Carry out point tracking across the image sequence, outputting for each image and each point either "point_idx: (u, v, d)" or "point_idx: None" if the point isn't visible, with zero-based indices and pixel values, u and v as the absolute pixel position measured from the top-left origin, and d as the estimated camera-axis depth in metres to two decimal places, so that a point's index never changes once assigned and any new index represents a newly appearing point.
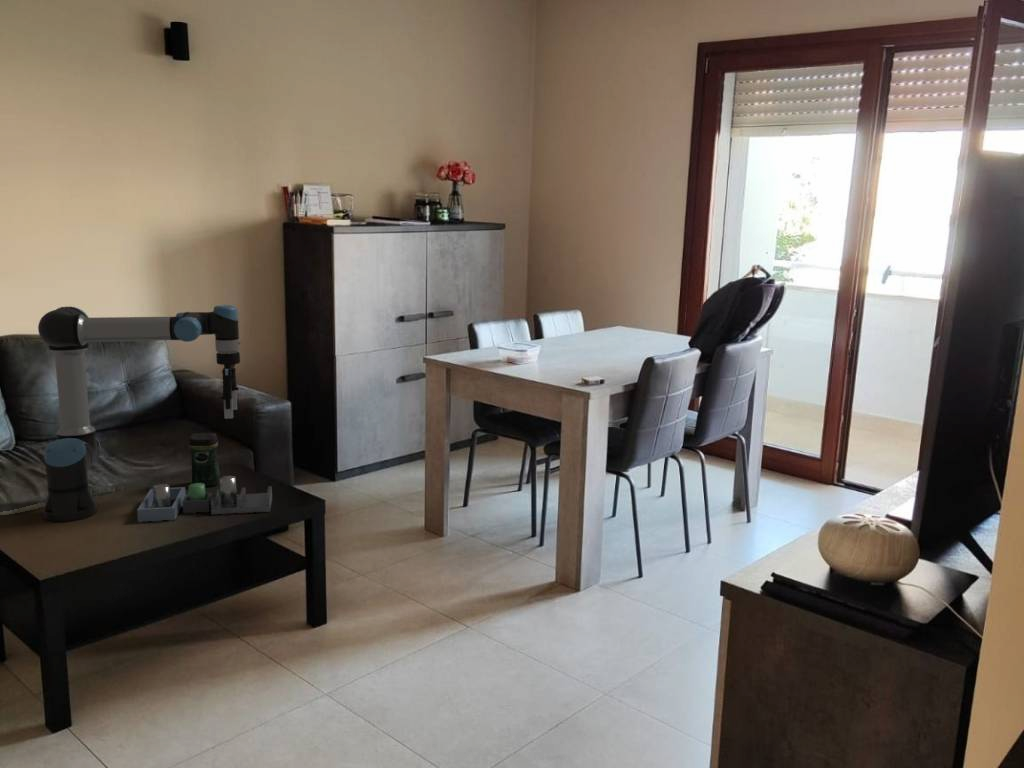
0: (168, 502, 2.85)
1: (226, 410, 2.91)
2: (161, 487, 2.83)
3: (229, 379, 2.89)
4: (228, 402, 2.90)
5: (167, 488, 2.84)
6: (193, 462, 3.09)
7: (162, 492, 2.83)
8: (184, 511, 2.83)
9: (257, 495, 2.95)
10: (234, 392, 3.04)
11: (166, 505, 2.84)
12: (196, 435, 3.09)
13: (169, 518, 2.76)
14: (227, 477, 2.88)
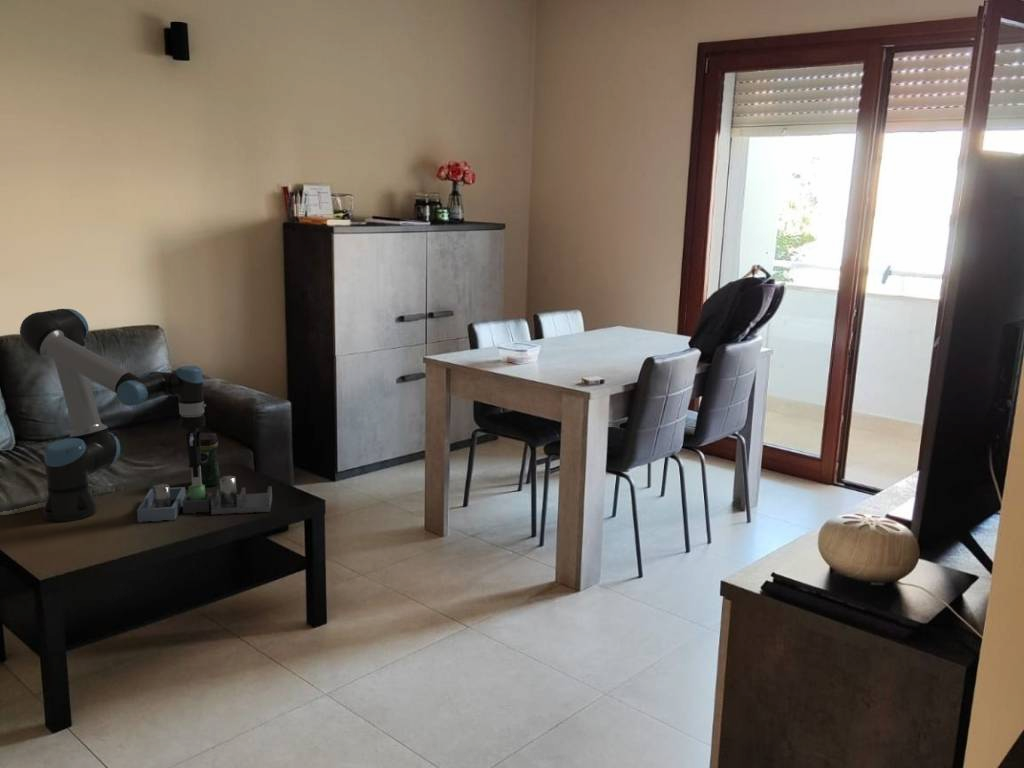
0: (168, 502, 2.85)
1: (194, 478, 2.85)
2: (161, 487, 2.83)
3: (194, 450, 2.79)
4: (196, 470, 2.83)
5: (167, 488, 2.84)
6: None
7: (162, 492, 2.83)
8: (184, 511, 2.83)
9: (257, 495, 2.95)
10: None
11: (166, 505, 2.84)
12: None
13: (169, 518, 2.76)
14: (227, 477, 2.88)
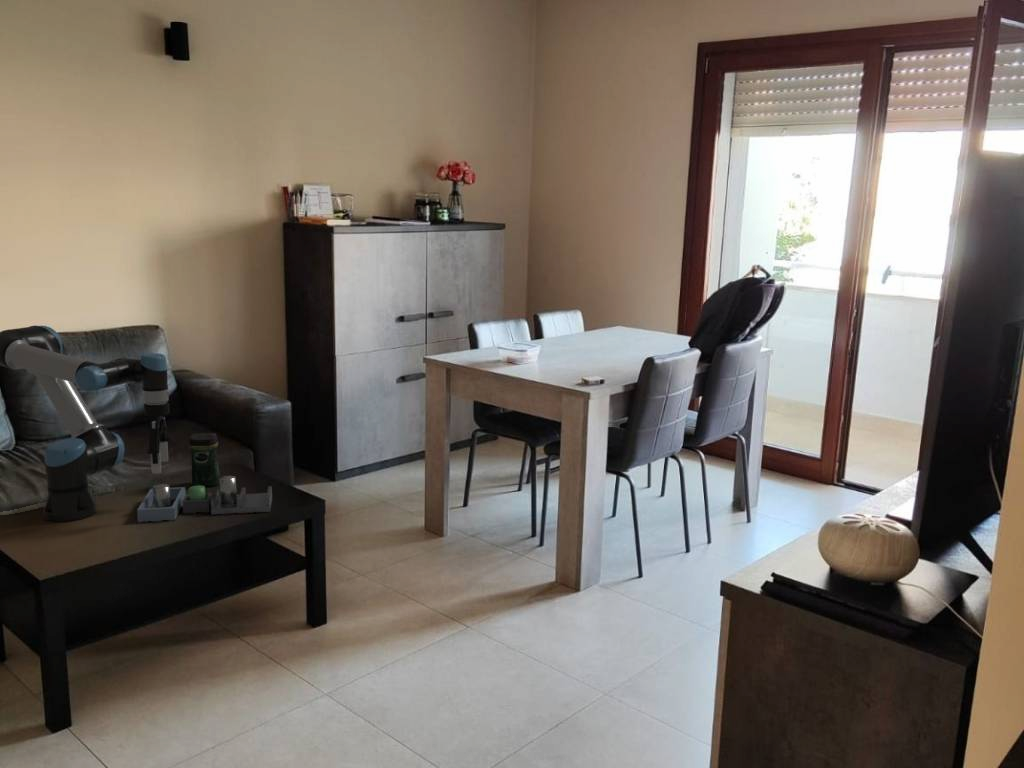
0: (168, 502, 2.85)
1: (153, 465, 2.76)
2: (161, 487, 2.83)
3: (156, 433, 2.74)
4: (155, 456, 2.75)
5: (167, 488, 2.84)
6: (193, 462, 3.09)
7: (162, 492, 2.83)
8: (184, 511, 2.83)
9: (257, 495, 2.95)
10: (165, 443, 2.89)
11: (166, 505, 2.84)
12: (196, 435, 3.09)
13: (169, 518, 2.76)
14: (227, 477, 2.88)
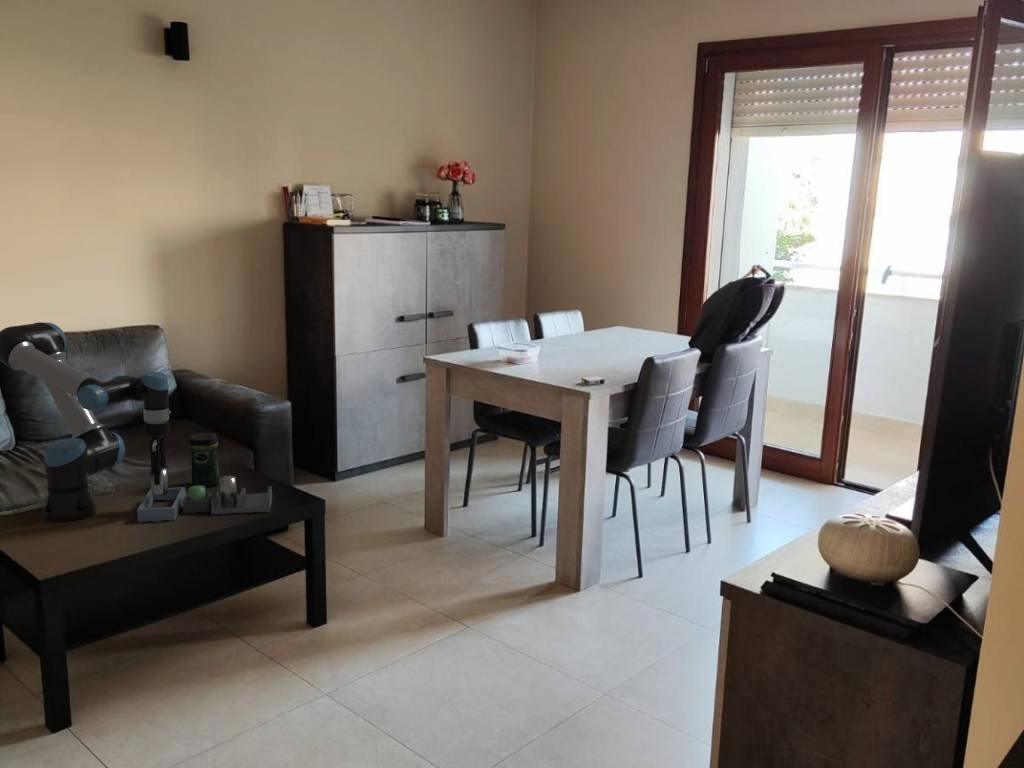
0: (165, 485, 2.84)
1: (155, 486, 2.81)
2: None
3: (157, 456, 2.77)
4: (157, 478, 2.80)
5: (165, 471, 2.83)
6: (193, 462, 3.09)
7: None
8: (184, 511, 2.83)
9: (257, 495, 2.95)
10: None
11: (163, 488, 2.83)
12: (196, 435, 3.09)
13: (169, 518, 2.76)
14: (227, 477, 2.88)
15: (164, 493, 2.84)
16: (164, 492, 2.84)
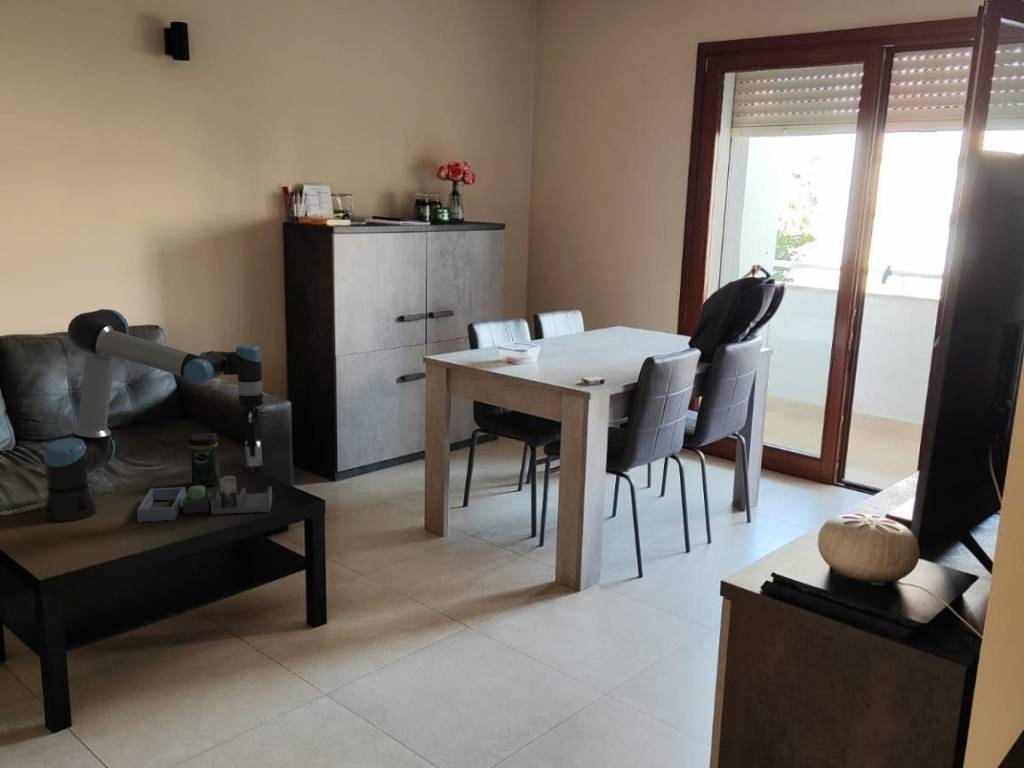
0: (260, 457, 2.87)
1: (250, 457, 2.85)
2: None
3: (252, 427, 2.80)
4: (253, 449, 2.83)
5: (259, 443, 2.86)
6: (193, 462, 3.09)
7: None
8: (184, 511, 2.83)
9: (257, 495, 2.95)
10: None
11: (258, 460, 2.86)
12: (196, 435, 3.09)
13: (169, 518, 2.76)
14: (227, 477, 2.88)
15: (259, 464, 2.87)
16: (259, 463, 2.87)
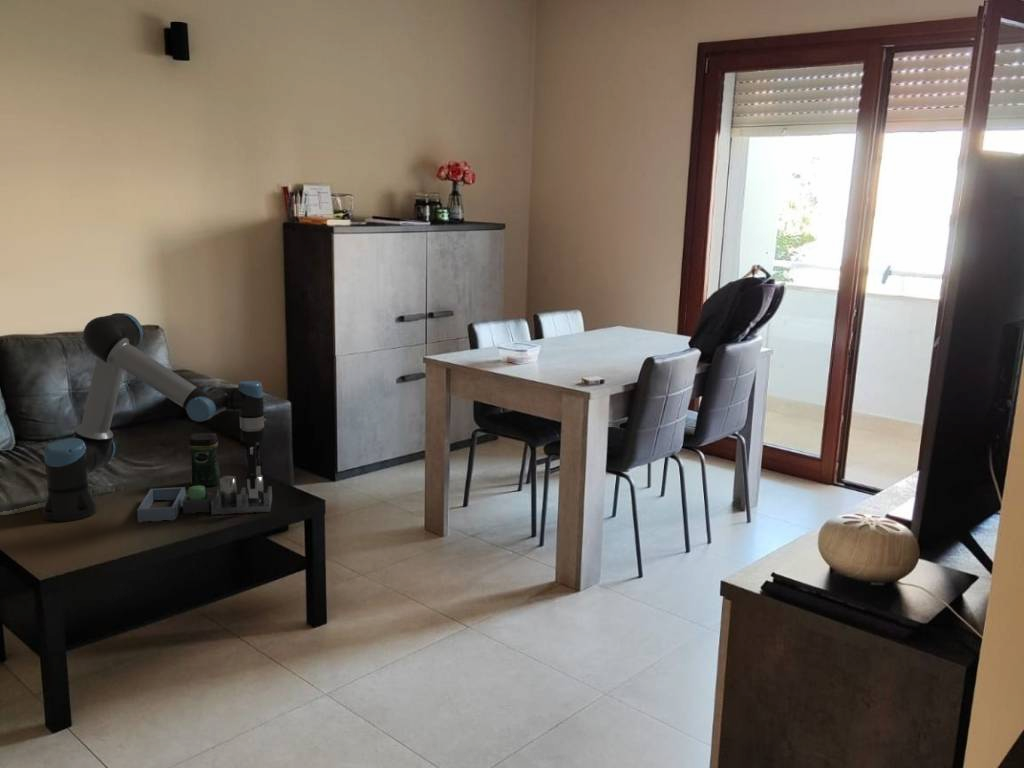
0: (261, 492, 2.89)
1: (251, 490, 2.83)
2: None
3: (254, 459, 2.81)
4: (253, 482, 2.81)
5: (261, 478, 2.88)
6: (193, 462, 3.09)
7: None
8: (184, 511, 2.83)
9: None
10: (258, 468, 2.95)
11: (260, 495, 2.89)
12: (196, 435, 3.09)
13: (169, 518, 2.76)
14: (227, 477, 2.88)
15: (260, 500, 2.89)
16: (260, 499, 2.89)
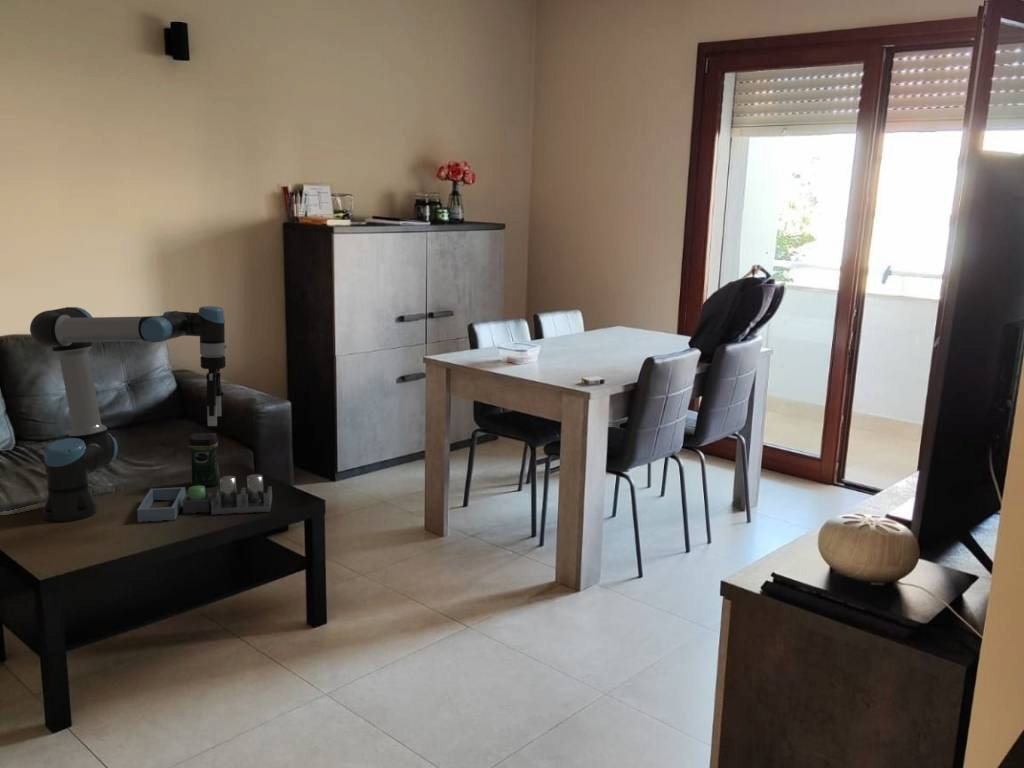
0: (261, 492, 2.89)
1: (209, 417, 2.76)
2: (255, 477, 2.88)
3: (213, 385, 2.74)
4: (212, 409, 2.75)
5: (261, 478, 2.88)
6: (193, 462, 3.09)
7: (256, 482, 2.87)
8: (184, 511, 2.83)
9: None
10: (218, 398, 2.89)
11: (260, 495, 2.89)
12: (196, 435, 3.09)
13: (169, 518, 2.76)
14: (227, 477, 2.88)
15: (260, 499, 2.89)
16: (260, 498, 2.89)
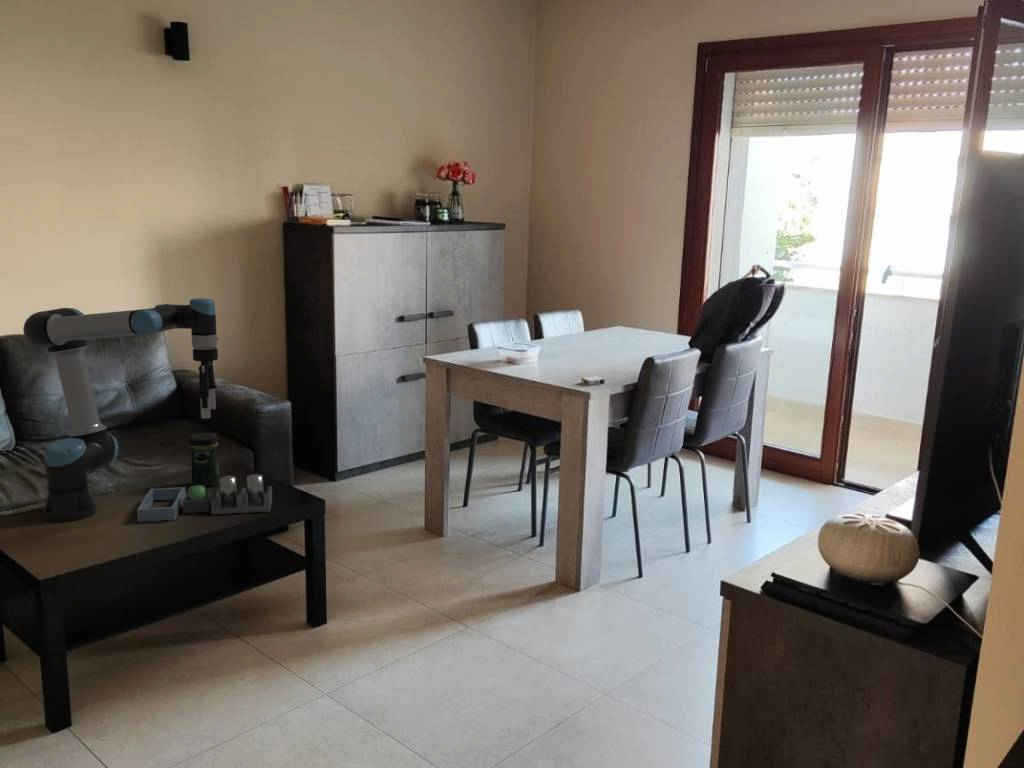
0: (261, 492, 2.89)
1: (203, 409, 2.75)
2: (255, 477, 2.88)
3: (205, 377, 2.73)
4: (205, 401, 2.73)
5: (261, 478, 2.88)
6: (193, 462, 3.09)
7: (256, 482, 2.87)
8: (184, 511, 2.83)
9: None
10: (212, 390, 2.88)
11: (260, 495, 2.89)
12: (196, 435, 3.09)
13: (169, 518, 2.76)
14: (227, 477, 2.88)
15: (260, 499, 2.89)
16: (260, 498, 2.89)
